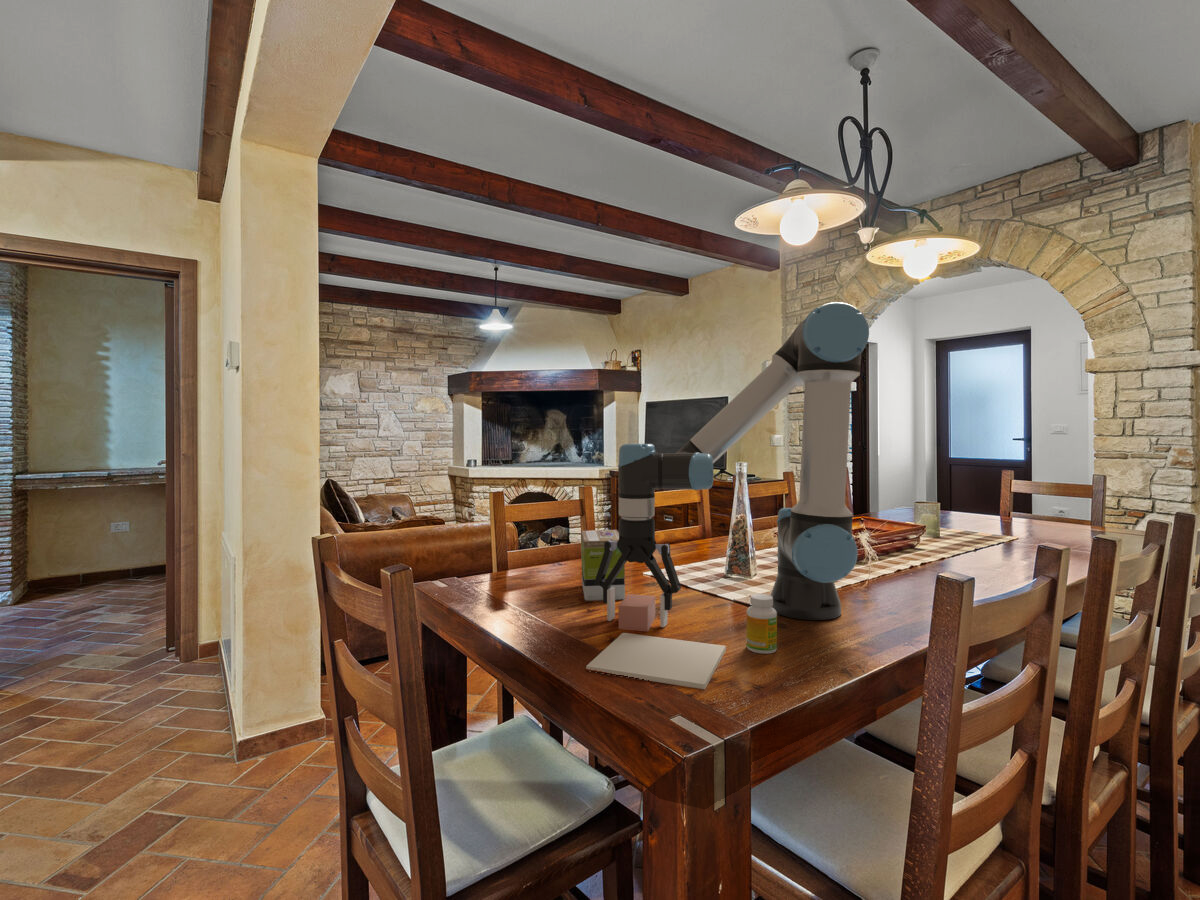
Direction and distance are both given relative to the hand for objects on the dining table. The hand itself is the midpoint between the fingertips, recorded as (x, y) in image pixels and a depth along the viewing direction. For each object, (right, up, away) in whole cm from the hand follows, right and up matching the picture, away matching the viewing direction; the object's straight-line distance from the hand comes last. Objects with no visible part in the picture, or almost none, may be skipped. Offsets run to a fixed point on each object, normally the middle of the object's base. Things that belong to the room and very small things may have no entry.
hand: (637, 622), depth 124 cm
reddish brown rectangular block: (0, 0, 0) cm, 1 cm away
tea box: (-7, 0, +25) cm, 26 cm away
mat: (+3, -1, -20) cm, 21 cm away
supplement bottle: (+22, -1, -15) cm, 27 cm away
